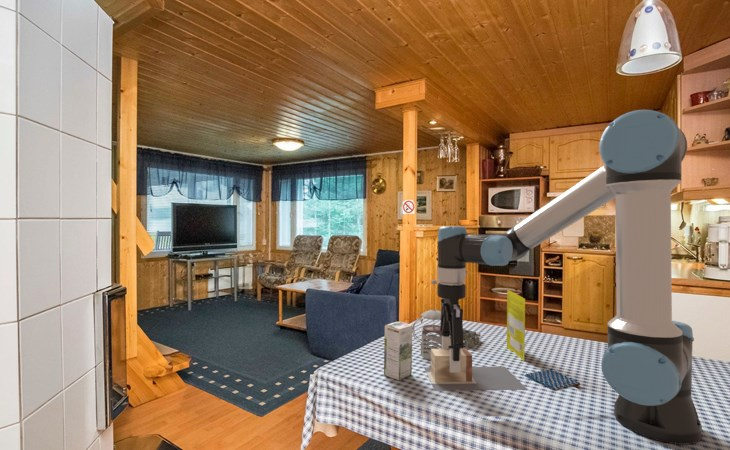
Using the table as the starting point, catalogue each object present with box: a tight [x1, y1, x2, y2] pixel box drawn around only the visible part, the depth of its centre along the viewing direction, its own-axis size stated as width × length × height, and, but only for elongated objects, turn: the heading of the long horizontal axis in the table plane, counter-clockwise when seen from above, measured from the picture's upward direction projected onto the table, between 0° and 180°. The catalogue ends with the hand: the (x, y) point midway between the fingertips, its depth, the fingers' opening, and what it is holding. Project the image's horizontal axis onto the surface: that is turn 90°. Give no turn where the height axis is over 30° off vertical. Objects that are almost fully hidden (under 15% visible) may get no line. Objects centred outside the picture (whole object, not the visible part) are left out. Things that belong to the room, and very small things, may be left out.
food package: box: [506, 289, 526, 362], centre depth 125 cm, size 15×1×20 cm, turn 179°
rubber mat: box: [423, 366, 528, 392], centre depth 105 cm, size 15×24×1 cm, turn 92°
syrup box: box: [383, 321, 414, 381], centre depth 108 cm, size 6×6×14 cm
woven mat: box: [524, 368, 581, 392], centre depth 104 cm, size 10×11×2 cm
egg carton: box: [463, 328, 482, 349], centre depth 137 cm, size 11×8×4 cm
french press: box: [412, 279, 442, 361], centre depth 122 cm, size 10×12×25 cm
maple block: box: [430, 348, 473, 382], centre depth 105 cm, size 10×6×7 cm, turn 92°
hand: (450, 365), depth 105 cm, fingers open, 8 cm apart
